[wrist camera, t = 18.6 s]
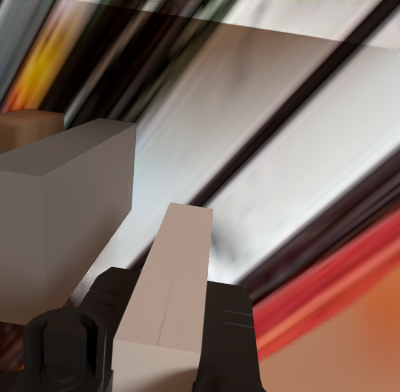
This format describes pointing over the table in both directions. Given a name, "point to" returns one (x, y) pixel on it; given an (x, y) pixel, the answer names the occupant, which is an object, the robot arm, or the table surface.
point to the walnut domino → (27, 127)
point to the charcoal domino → (60, 212)
